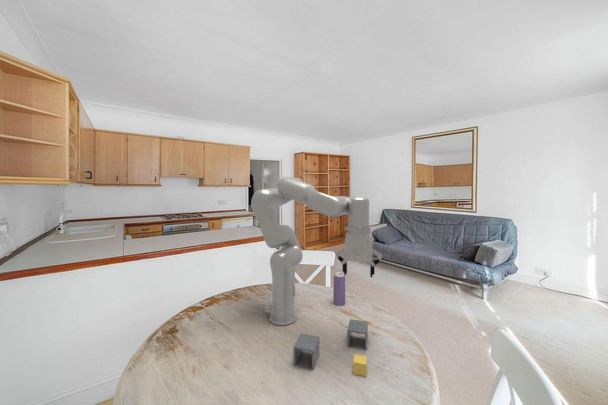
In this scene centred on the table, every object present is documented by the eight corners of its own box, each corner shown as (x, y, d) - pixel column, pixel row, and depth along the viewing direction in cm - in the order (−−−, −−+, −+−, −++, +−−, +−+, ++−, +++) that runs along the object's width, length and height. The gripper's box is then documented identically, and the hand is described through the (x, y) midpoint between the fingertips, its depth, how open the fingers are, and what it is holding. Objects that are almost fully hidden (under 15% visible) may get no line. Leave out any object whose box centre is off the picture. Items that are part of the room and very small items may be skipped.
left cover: (293, 365, 83) (293, 346, 83) (300, 350, 91) (300, 333, 90) (313, 369, 81) (313, 350, 81) (319, 354, 89) (319, 336, 88)
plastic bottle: (283, 292, 141) (283, 257, 139) (295, 292, 141) (295, 257, 140) (283, 297, 134) (283, 261, 133) (296, 297, 135) (295, 260, 133)
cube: (353, 374, 79) (353, 362, 79) (354, 365, 83) (354, 353, 83) (366, 376, 78) (366, 364, 78) (366, 367, 82) (366, 356, 81)
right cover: (347, 346, 92) (347, 329, 92) (349, 334, 100) (350, 319, 100) (366, 350, 90) (366, 333, 90) (367, 337, 98) (367, 321, 98)
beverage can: (344, 306, 124) (345, 276, 123) (332, 305, 125) (332, 276, 124) (345, 300, 130) (345, 272, 129) (333, 299, 131) (333, 272, 130)
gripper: (333, 230, 92) (333, 276, 93) (382, 232, 86) (382, 280, 88) (337, 227, 99) (337, 269, 100) (382, 229, 94) (382, 273, 95)
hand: (358, 274), depth 94 cm, fingers open, 9 cm apart
